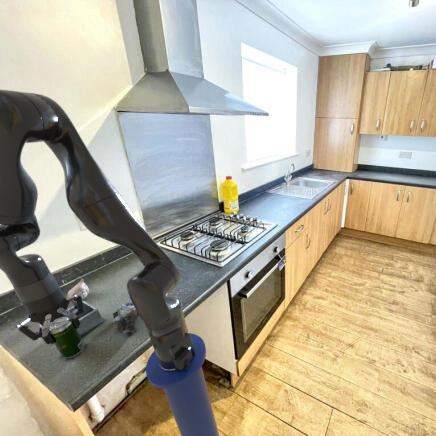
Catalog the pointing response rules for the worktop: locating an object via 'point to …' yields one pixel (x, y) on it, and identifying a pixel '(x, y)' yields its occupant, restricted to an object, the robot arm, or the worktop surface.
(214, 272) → the worktop surface
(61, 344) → the beer can
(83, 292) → the garlic bulb
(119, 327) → the foil
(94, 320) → the open square box
